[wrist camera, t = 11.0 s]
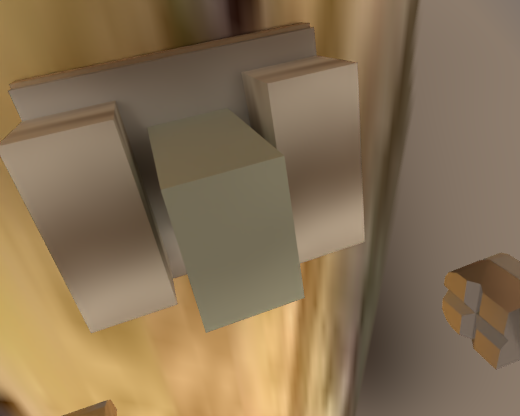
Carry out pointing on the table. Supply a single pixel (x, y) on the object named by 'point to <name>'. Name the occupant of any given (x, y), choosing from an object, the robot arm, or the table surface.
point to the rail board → (143, 166)
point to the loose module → (228, 215)
